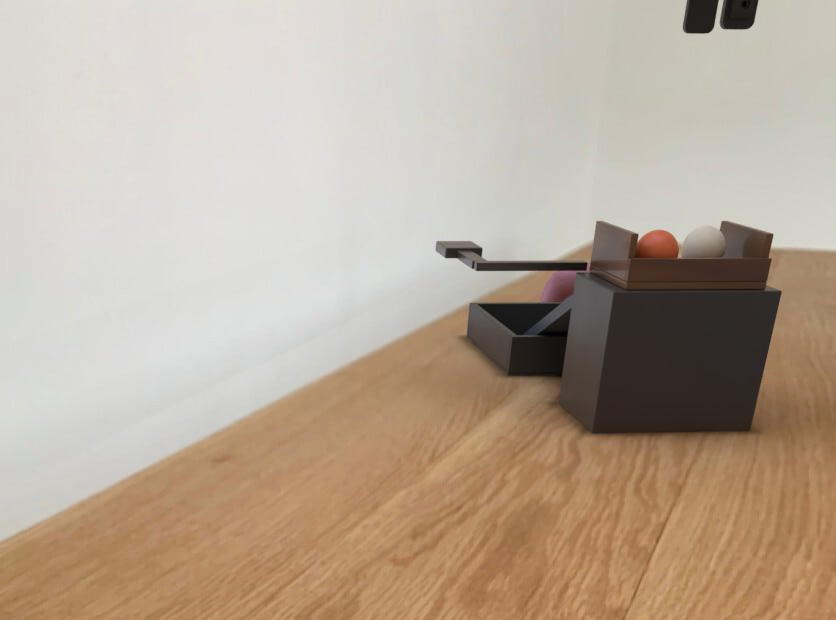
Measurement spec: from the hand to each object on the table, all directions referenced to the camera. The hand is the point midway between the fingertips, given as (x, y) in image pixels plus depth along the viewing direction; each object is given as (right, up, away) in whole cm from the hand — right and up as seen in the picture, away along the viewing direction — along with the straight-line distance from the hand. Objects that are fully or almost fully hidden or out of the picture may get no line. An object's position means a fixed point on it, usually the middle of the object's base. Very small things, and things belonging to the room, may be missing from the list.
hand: (715, 31), depth 81 cm
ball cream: (-1, -17, -1) cm, 17 cm away
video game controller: (0, -8, +36) cm, 37 cm away
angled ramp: (-5, -20, +15) cm, 26 cm away
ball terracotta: (-6, -18, -4) cm, 19 cm away
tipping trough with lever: (-9, -16, +3) cm, 19 cm away
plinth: (-4, -28, +4) cm, 28 cm away
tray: (-5, -16, +22) cm, 28 cm away
